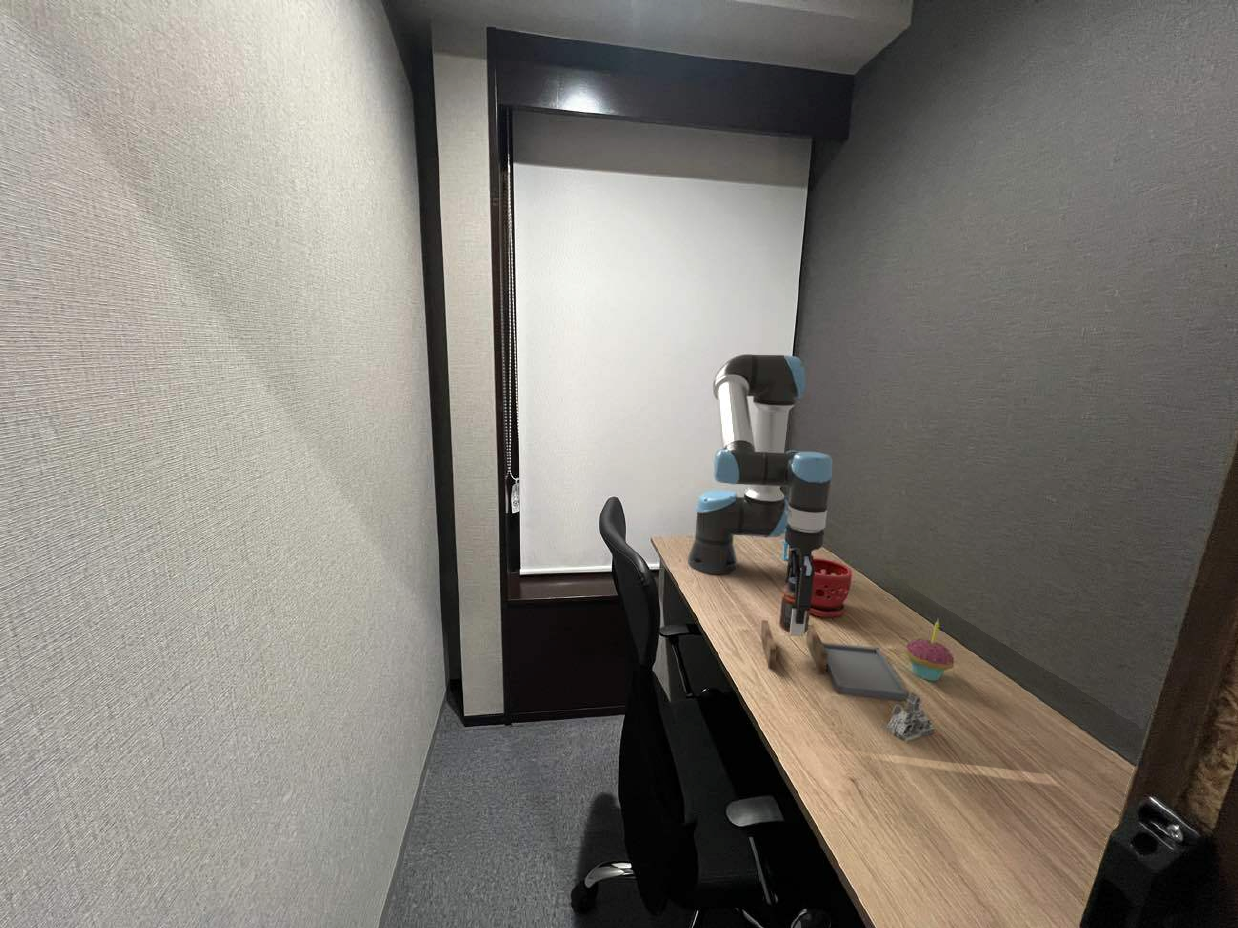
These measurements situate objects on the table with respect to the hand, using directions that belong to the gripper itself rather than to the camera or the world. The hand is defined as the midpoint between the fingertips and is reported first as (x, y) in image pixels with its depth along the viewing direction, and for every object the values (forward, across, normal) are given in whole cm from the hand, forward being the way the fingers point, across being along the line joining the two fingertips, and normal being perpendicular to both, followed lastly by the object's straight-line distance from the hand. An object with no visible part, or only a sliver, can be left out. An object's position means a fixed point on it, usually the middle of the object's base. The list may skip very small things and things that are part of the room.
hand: (793, 626), depth 109 cm
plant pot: (+7, -23, +12) cm, 27 cm away
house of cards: (+7, +19, +16) cm, 25 cm away
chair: (+8, -55, +12) cm, 57 cm away
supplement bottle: (+1, 0, 0) cm, 1 cm away
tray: (+6, +5, +13) cm, 15 cm away
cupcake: (+7, +3, +27) cm, 28 cm away
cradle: (+7, +1, 0) cm, 7 cm away
